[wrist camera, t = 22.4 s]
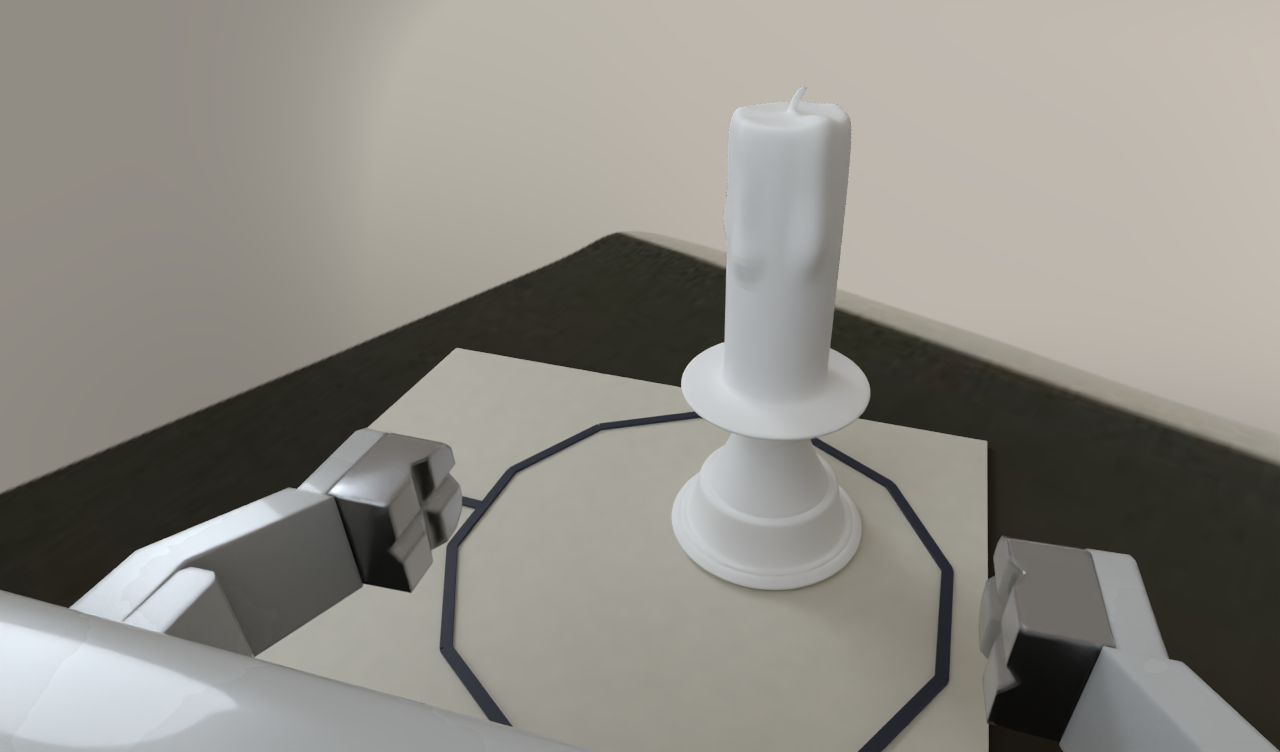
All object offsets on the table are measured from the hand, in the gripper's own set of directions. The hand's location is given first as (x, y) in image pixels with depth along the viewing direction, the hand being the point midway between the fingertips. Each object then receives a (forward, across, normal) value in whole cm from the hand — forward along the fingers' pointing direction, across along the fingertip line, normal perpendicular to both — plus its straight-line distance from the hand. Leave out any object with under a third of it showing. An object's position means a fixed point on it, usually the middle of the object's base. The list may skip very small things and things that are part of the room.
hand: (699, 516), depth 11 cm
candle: (+8, 0, +8) cm, 11 cm away
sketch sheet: (+6, +4, +8) cm, 11 cm away
